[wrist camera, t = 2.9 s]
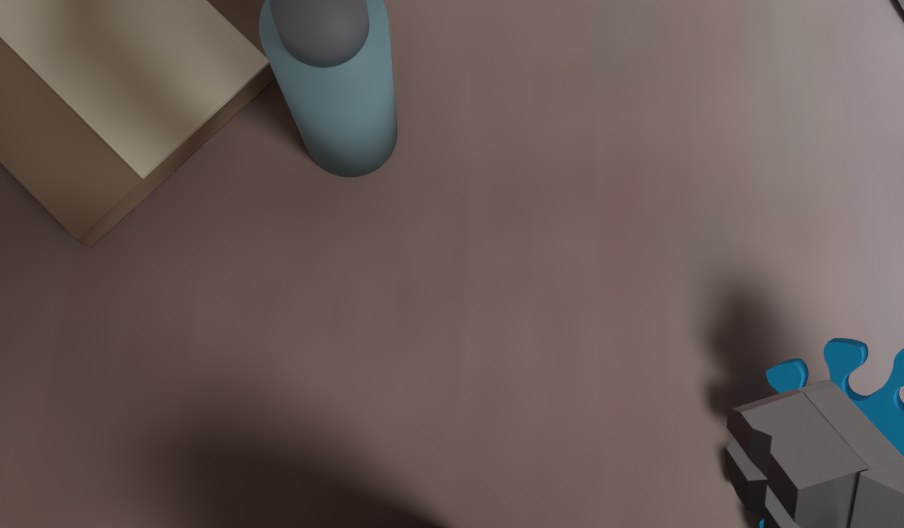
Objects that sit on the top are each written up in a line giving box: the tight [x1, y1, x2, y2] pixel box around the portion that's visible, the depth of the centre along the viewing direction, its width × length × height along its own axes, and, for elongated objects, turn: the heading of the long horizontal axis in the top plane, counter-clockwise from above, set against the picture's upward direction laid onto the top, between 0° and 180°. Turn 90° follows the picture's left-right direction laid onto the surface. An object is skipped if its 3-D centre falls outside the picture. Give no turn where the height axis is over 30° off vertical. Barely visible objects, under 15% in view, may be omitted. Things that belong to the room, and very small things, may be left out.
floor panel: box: [0, 0, 276, 247], centre depth 35 cm, size 14×14×2 cm
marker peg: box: [259, 0, 397, 177], centre depth 30 cm, size 4×4×12 cm
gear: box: [757, 338, 904, 528], centre depth 32 cm, size 11×6×10 cm
